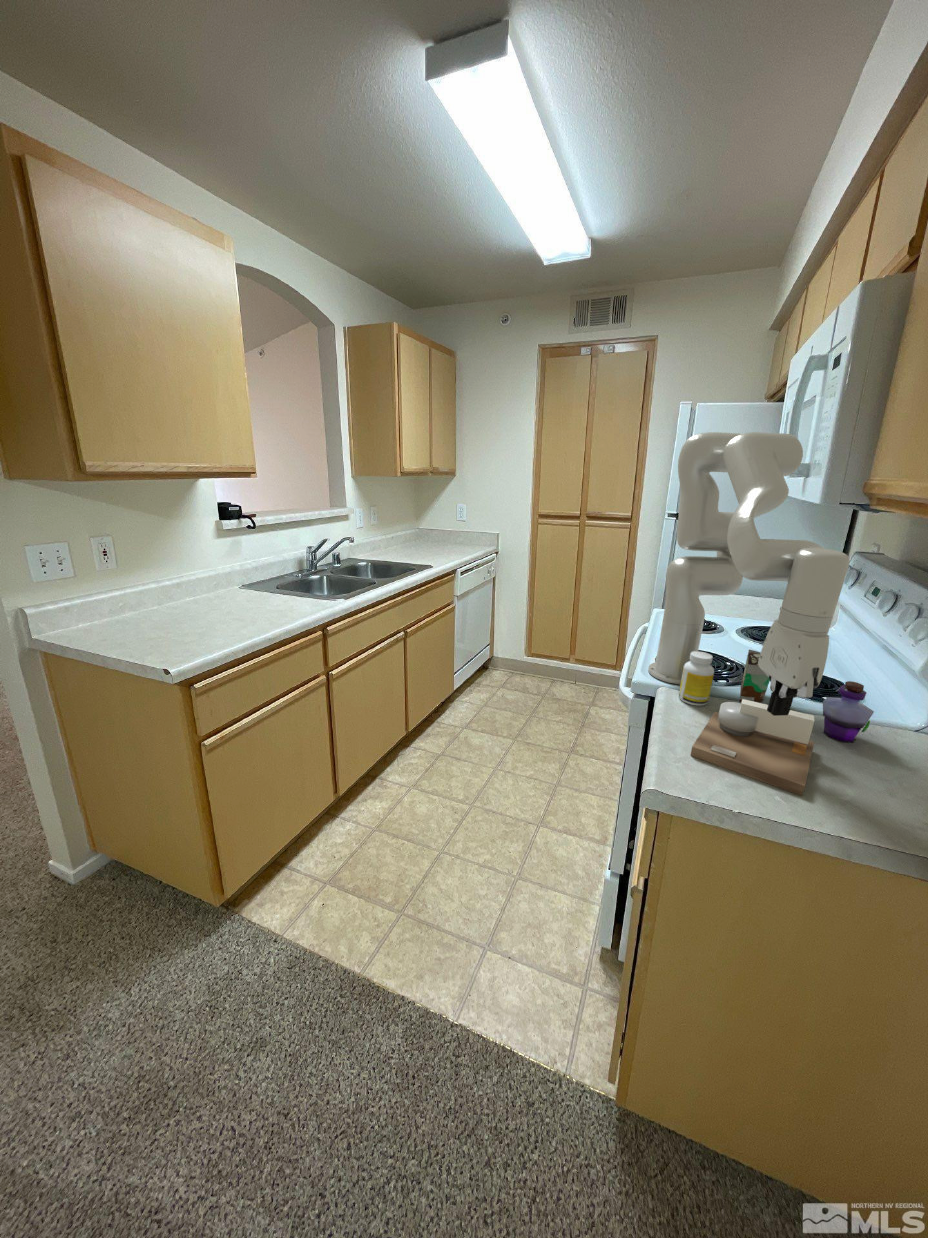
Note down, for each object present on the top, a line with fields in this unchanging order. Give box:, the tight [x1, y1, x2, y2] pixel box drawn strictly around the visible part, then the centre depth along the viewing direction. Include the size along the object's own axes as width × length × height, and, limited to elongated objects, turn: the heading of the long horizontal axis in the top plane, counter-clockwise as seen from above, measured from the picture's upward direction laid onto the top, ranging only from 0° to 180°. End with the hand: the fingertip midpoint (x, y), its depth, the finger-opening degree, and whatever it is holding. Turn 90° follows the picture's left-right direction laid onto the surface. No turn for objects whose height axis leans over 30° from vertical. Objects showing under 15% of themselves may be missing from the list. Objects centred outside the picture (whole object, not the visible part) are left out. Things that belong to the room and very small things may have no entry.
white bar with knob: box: [718, 699, 815, 744], centre depth 96 cm, size 16×7×5 cm, turn 59°
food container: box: [738, 649, 771, 703], centre depth 116 cm, size 12×6×10 cm, turn 150°
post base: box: [690, 711, 815, 797], centre depth 94 cm, size 18×18×3 cm
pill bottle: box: [678, 650, 715, 707], centre depth 114 cm, size 6×6×12 cm
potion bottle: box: [822, 680, 875, 744], centre depth 100 cm, size 9×9×12 cm
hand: (777, 713), depth 90 cm, fingers closed
